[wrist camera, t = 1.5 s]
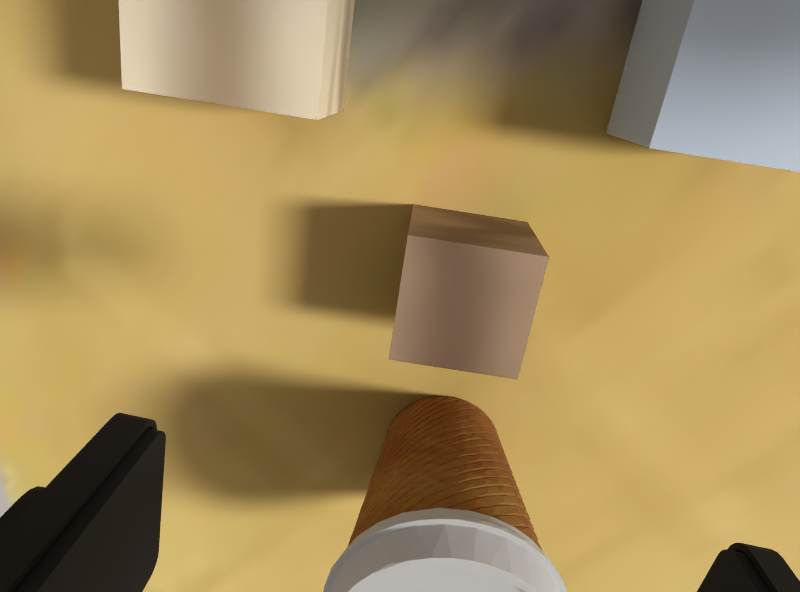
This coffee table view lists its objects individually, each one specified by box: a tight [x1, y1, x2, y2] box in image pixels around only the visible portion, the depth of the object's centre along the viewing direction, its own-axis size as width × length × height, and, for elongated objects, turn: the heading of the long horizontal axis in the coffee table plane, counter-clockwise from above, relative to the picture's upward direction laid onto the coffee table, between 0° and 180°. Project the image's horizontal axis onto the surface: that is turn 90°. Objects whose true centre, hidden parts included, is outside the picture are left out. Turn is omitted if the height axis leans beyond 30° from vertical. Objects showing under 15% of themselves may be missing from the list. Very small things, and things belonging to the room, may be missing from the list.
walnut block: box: [389, 204, 549, 379], centre depth 25 cm, size 6×6×6 cm
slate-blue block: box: [606, 0, 800, 172], centre depth 21 cm, size 6×6×6 cm
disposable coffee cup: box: [324, 397, 567, 592], centre depth 26 cm, size 10×10×12 cm
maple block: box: [119, 0, 355, 120], centre depth 21 cm, size 7×7×6 cm
